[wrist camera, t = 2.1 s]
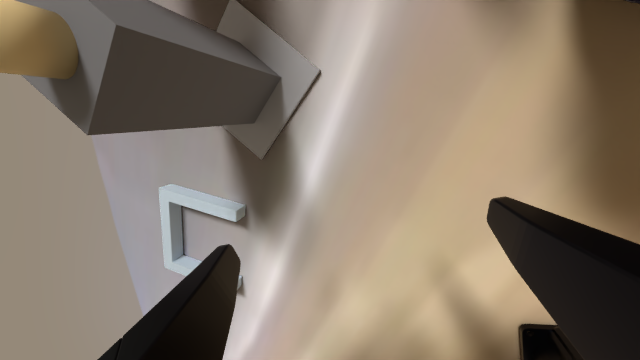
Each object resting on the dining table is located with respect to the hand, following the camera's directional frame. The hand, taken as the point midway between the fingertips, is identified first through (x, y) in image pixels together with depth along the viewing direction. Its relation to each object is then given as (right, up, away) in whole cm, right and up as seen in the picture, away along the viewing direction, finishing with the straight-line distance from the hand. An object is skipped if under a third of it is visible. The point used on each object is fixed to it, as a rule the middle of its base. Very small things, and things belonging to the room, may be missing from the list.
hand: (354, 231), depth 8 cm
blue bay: (-13, -4, +17) cm, 22 cm away
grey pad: (-7, +10, +12) cm, 17 cm away
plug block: (-7, +10, +11) cm, 17 cm away
